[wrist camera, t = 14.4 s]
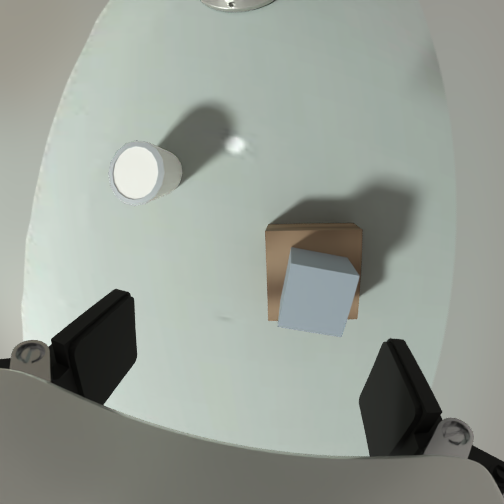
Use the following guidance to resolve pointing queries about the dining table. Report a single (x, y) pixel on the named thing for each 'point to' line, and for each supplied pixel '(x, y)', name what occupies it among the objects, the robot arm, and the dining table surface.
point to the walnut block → (314, 239)
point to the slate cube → (317, 292)
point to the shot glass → (143, 172)
